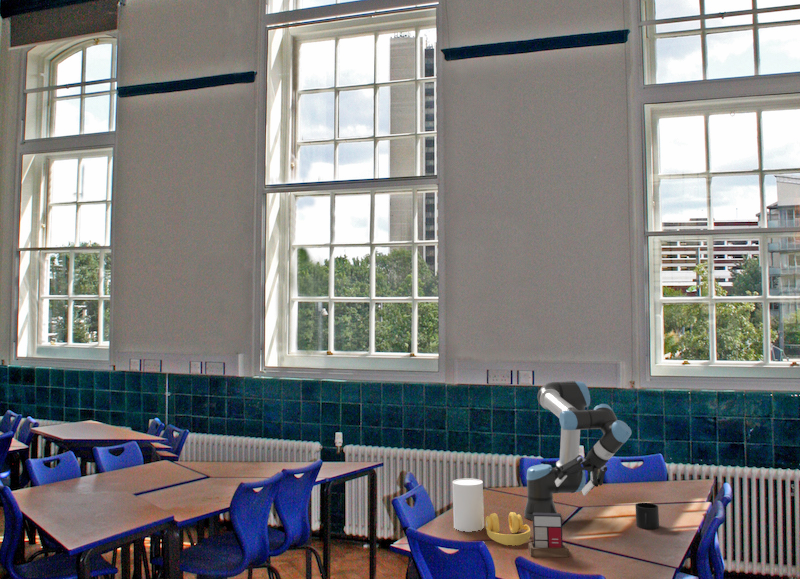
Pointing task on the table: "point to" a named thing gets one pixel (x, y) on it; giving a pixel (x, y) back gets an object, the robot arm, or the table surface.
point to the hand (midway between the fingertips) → (569, 488)
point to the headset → (514, 526)
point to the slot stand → (548, 551)
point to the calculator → (547, 530)
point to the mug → (647, 515)
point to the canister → (468, 504)
